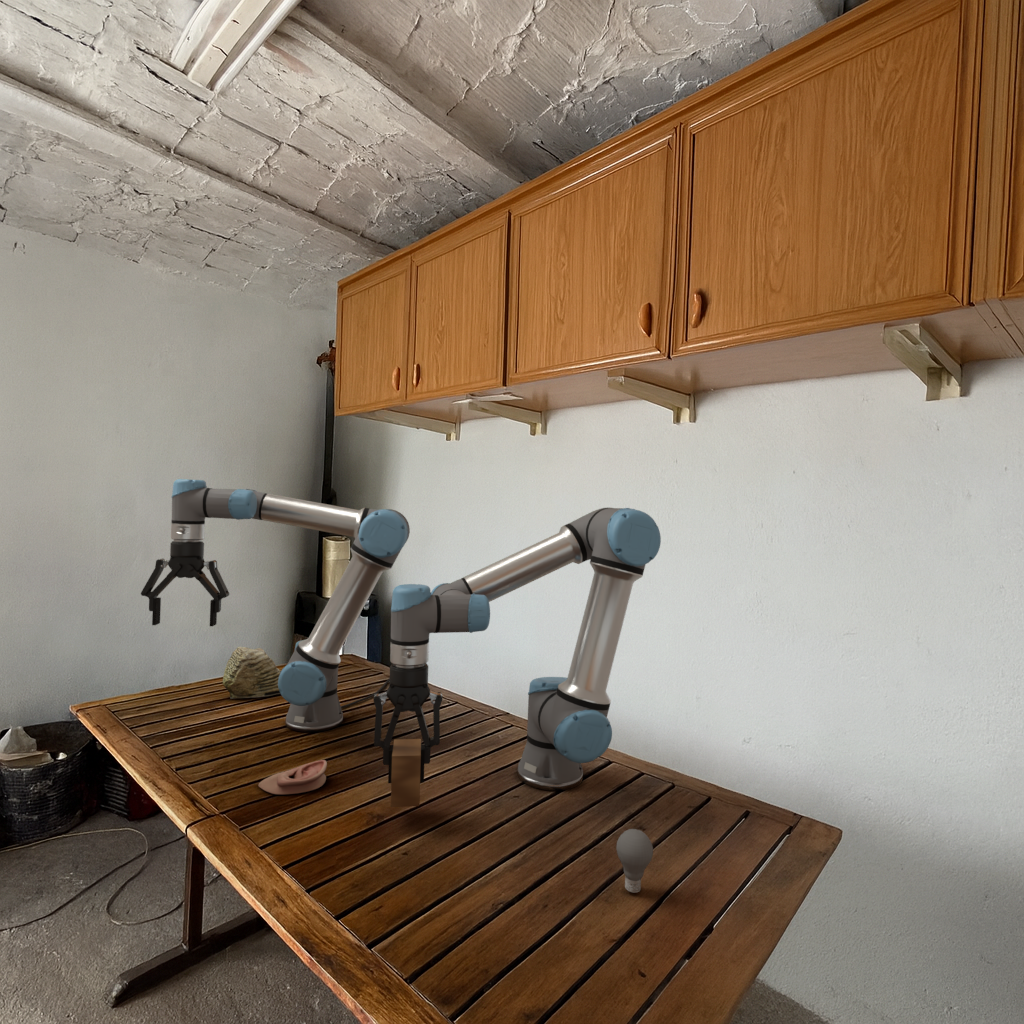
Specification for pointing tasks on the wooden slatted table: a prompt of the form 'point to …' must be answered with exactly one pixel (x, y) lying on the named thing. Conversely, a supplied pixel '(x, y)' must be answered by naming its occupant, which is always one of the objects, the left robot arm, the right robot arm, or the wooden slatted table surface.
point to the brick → (406, 773)
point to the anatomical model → (296, 779)
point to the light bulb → (634, 857)
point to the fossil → (251, 674)
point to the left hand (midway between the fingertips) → (184, 624)
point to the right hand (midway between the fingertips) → (406, 779)
